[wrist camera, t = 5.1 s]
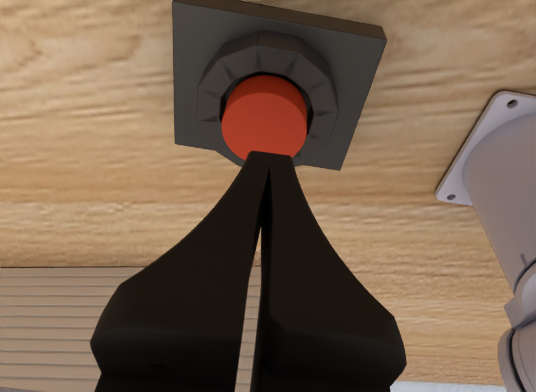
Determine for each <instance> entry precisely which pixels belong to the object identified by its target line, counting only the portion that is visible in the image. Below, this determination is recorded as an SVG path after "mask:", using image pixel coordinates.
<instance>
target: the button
mask: <svg viewBox="0 0 536 392" xmlns="http://www.w3.org/2000/svg"><path fill="white" fill-rule="evenodd" d="M222 134H223V138H224V140H225V142H226V144H227V145H228V147H229V148H230V149H231V150H232V151H233V152H234V153H235V154H236V155H237V156H239V157H240V158H242V159H244V160H246V158H247V156H248V153H249V152H251V151H252V150H253V151H261V152H268V153H276V154H284V155H290V156H291V157H293V156H294V155H295V154H296V153H297V152H298V151H299V150H300V149H301V147H302V146H303V144H304V142H305V139H306V135H307V109H306V104H305V100H304V98H303V96H302V94H301V93H300V92H299V90H298V89H297V88H296V87H295V86H294V85H293V84H291V83H290V82H288V81H286V80H284V79H282V78H280V77H276V76H271V75H259V76H254V77H250V78H248V79H246V80H244V81H242V82H241V83H239V84H238V85H237V86H236V87H235V88H234V89H233V91H232V92H231V94H230V96H229V98H228V101H227V105H226V108H225V112H224V115H223V119H222Z"/></svg>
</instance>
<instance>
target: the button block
mask: <svg viewBox="0 0 536 392" xmlns="http://www.w3.org/2000/svg"><path fill="white" fill-rule="evenodd" d="M172 20H173V76H174V131H175V144H178V145H184V146H190V147H196V148H202V149H209V150H215V151H217V152H218V153H220V154H221V155H223V156H224V157H226V158H227V159H229V160H230V161H232V162H234V163H235V164H237V165H238V166H241V167H243V165H244V163H245V161H246V160H244V159H242V158H240V157H239V156H237V155H236V154H235V153H234V152H233V151H232V150H231V149H230V148H229V147H228V145H227V144H226V142H225V140H224V138H223V134H222V119H223V115H224V112H225V108H226V105H227V101H228V98H229V96H230V94H231V92H232V91H233V89H234V88H235V87H236V86H237V85H238V84H239V83H241V82H242V81H244V80H246V79H248V78H250V77H254V76H259V75H271V76H276V77H280V78H282V79H284V80H286V81H288V82H290V83H291V84H293V85H294V86H295V87H296V88H297V89H298V90H299V92H300V93H301V94H302V96H303V98H304V100H305V104H306V109H307V135H306V139H305V142H304V144H303V146H302V147H301V149H300V150H299V151H298V152H297V153H296V154H295V155H294V156H293V157H292V159H293V164H294V167H296V166H300V165H308V166H314V167H320V168H326V169H332V170H338V171H340V170H341V167H342V164H343V162H344V159H345V156H346V153H347V150H348V148H349V145H350V142H351V139H352V137H353V134H354V131H355V128H356V126H357V123H358V120H359V117H360V114H361V112H362V109H363V106H364V103H365V101H366V98H367V95H368V92H369V90H370V87H371V84H372V81H373V78H374V76H375V73H376V70H377V67H378V65H379V62H380V59H381V56H382V54H383V51H384V48H385V45H386V42H387V38H386V36H385V33H384V31H383V28H382V27H380V26H374V25H369V24H363V23H358V22H352V21H347V20H341V19H336V18H330V17H325V16H320V15H314V14H309V13H303V12H298V11H292V10H287V9H281V8H276V7H270V6H265V5H259V4H254V3H248V2H243V1H237V0H173V1H172Z"/></svg>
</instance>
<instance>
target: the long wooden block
mask: <svg viewBox="0 0 536 392" xmlns="http://www.w3.org/2000/svg"><path fill="white" fill-rule="evenodd" d="M144 268H146V267H114V268H0V387H8V388H17V389H26V390H35V391H44V392H94V391H95V388H96V386H97V383H98V380H99V378H100V375H101V371H100V369H99V367H98V364H97V362H96V360H95V358H94V355H93V353H92V351H91V347H90V340H91V338H92V335H93V333H94V330H95V328H96V325H97V323H98V320H99V318H100V316H101V314H102V312H103V310H104V308H105V307H106V305H107V303H108V301H109V300H110V298H111V296H112V295H113V293H114V292H115V290H116V289H117V288H118V286H119V285H120V284H121V283H122V282H124V281H125V280H127V279H129V278H130V277H132V276H133V275H135V274H136V273H138V272H139V271H141V270H143V269H144ZM260 288H261V267H252V269H251V274H250V278H249V284H248V292H247V301H246V309H245V318H244V326H243V334H242V342H241V349H240V357H239V364H238V372H237V379H236V386H235V392H250V384H251V375H252V366H253V357H254V348H255V339H256V329H257V320H258V311H259V301H260Z"/></svg>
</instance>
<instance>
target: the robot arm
mask: <svg viewBox="0 0 536 392" xmlns="http://www.w3.org/2000/svg"><path fill="white" fill-rule="evenodd" d="M511 100H515V101H514V102H513V103H512V104H510V105H507V104H508V102H509V101H511ZM451 194H453V195H451ZM449 195H451V196H449ZM435 196H436V199H437V200H439V201H445V202H451V203H457V204H463V205H470V206H474V208H475V211H476V213H477V215H478V217H479V219H480V222H481V224H482V226H483V228H484V230H485V233H486V235H487V237H488V239H489V241H490V244H491V246H492V248H493V250H494V252H495V255H496V257H497V259H498V261H499V263H500V266H501V268H502V270H503V272H504V274H505V277H506V279H507V281H508V283H509V285H510V288H511V290H512V292H513V294H514V297H513V299H512V300H511V301H510V302H508V303H507V304H506V305H504V309H505V311H506V314H507V316H508V318H509V321H510V323H511V326H512V328H510V329H509V330H507V331H505V333H504V334H503V335H502V336H501V338H500V341H499V343H498V363H499V367H500V372H501V375H502V379H503V383H504V385H505V388H506V391H507V392H536V96H532V95H526V94H521V93H515V92H509V91H501V92H498V93H497V94H495V95H494V96H493V98H492V99H491V101H490V102H489V104H488V106H487V107H486V109H485V111H484V112H483V114H482V116H481V117H480V119H479V121H478V122H477V124H476V125H475V127H474V129H473V130H472V132H471V134H470V135H469V137H468V139H467V140H466V142H465V144H464V145H463V147H462V148H461V150H460V152H459V153H458V155H457V157H456V158H455V160H454V162H453V163H452V165H451V167H450V168H449V170H448V171H447V173H446V175H445V176H444V178H443V180H442V181H441V183H440V185H439V186H438V188H437V190H436V191H435ZM260 229H261V288H260V301H259V311H258V320H257V329H256V339H255V348H254V357H253V366H252V375H251V384H250V392H390V386H391V385H392V384H393V383H394V381H395V380H396V379H397V378H398V377H399V375H400V374H401V373H402V372H403V371H404V369H405V367H406V365H407V362H406V354H405V349H404V345H403V341H402V338H401V335H400V332H399V329H398V326H397V323H396V321H395V318H394V316H393V315H392V314H391V313H390V312H389V311H388V310H387V309H386V308H384V307H383V306H382V305H381V304H380V303H379V302H378V301H377V300H376V299H375V298H374V297H373V296H372V295H371V294H370V293H369V292H368V291H367V290H366V289H365V287H364V286H363V285H362V284H361V283H360V282H359V281H358V280H357V279H356V277H355V276H354V275H353V274H352V272H351V271H350V270H349V269H348V267H347V266H346V265H345V264H344V262H343V261H342V260H341V258H340V257H339V256H338V254H337V253H336V252H335V250H334V249H333V247H332V246H331V244H330V243H329V241H328V240H327V238H326V236H325V235H324V233H323V232H322V230H321V228H320V226H319V225H318V223H317V221H316V219H315V217H314V215H313V213H312V211H311V209H310V207H309V205H308V203H307V201H306V198H305V196H304V194H303V191H302V189H301V186H300V184H299V181H298V178H297V175H296V172H295V168H294V164H293V159H292V157H291V156H290V155H284V154H276V153H268V152H261V151H253V150H252V151H251V152H249V153H248V156H247V158H246V161H245V163H244V165H243V167H242V168H241V170H240V172H239V173H238V175H237V177H236V178H235V180H234V181H233V183H232V184H231V186H230V187H229V189H228V190H227V191H226V193H225V194H224V195H223V197H222V198H221V199H220V200H219V202H218V203H217V204H216V205H215V207H214V208H213V209H212V210H211V211H210V212H209V214H208V215H207V216H206V217H205V218H204V219H203V220H202V221H201V222H200V223H199V224H198V225H197V226H196V227H195V228H194V229H193V230H192V231H191V232H190V233H189V234H188V235H186V236H185V237H184V238H183V239H182V240H181V241H180V242H179V243H177V244H176V245H175V246H174V247H173V248H171V249H170V250H169V251H167V252H166V253H165V254H163V255H162V256H161V257H160V258H158V259H157V260H156V261H154V262H153V263H151V264H150V265H149V266H147V267H146V268H144V269H143V270H141V271H139V272H138V273H136V274H135V275H133V276H132V277H130V278H129V279H127V280H125V281H124V282H122V283H121V284H120V285H119V286H118V288H117V289H116V290H115V292H114V293H113V295H112V296H111V298H110V300H109V301H108V303H107V305H106V307H105V308H104V310H103V312H102V314H101V316H100V318H99V320H98V323H97V325H96V328H95V330H94V333H93V335H92V338H91V340H90V347H91V351H92V353H93V355H94V358H95V360H96V362H97V364H98V367H99V369H100V371H101V375H100V378H99V380H98V383H97V386H96V388H95V391H94V392H235V386H236V379H237V372H238V364H239V357H240V349H241V342H242V334H243V326H244V318H245V309H246V301H247V292H248V284H249V278H250V274H251V269H252V265H253V260H254V256H255V251H256V247H257V242H258V238H259V233H260ZM0 392H44V391H35V390H26V389H17V388H8V387H0Z"/></svg>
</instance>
